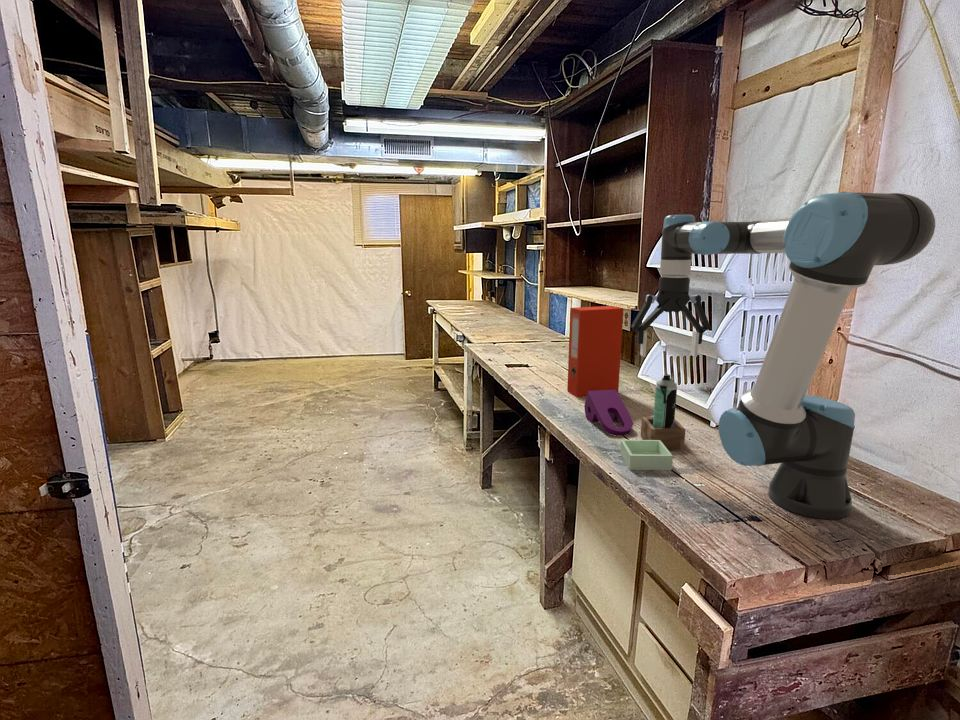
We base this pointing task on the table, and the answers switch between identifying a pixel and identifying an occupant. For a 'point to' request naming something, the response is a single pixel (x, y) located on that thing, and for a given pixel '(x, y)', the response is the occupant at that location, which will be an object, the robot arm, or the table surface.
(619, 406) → the mounting bracket
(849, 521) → the table surface
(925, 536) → the table surface
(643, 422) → the brown open-top box
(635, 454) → the parts tray
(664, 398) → the spray can
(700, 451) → the table surface
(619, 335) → the file binder
